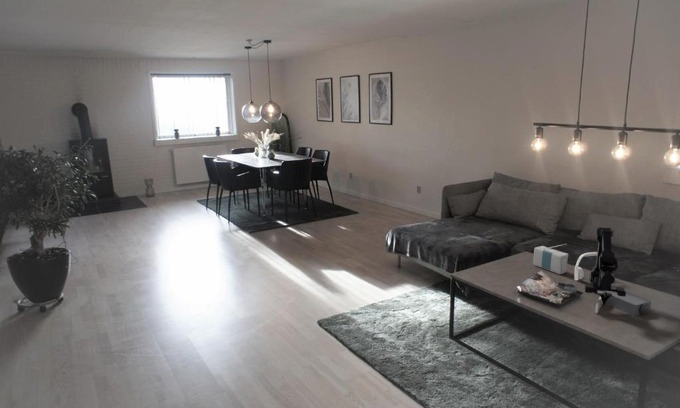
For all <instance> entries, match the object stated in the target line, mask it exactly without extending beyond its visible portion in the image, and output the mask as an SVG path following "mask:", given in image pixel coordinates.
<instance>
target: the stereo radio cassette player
mask: <svg viewBox="0 0 680 408" xmlns="http://www.w3.org/2000/svg"><path fill="white" fill-rule="evenodd" d="M563 245H565V246H566V243H564V244H560V245H556V246H555V245H554V246H549V247H547V246H545V245H540V246H537V247H534V249H533V250H534V251H533V261H532V264H533V266H535V267H538V268H542V269H544V270H546V271H549V272H552V273H554V274H557V275H563V274H564V273H566V272H567V269H568V267H567V266H568V259H569V253H567V252H564V251H560V250H557V249H553V248H556V247H559V246H563Z"/></svg>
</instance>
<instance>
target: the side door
mask: <svg viewBox="0 0 680 408" xmlns="http://www.w3.org/2000/svg"><path fill="white" fill-rule="evenodd" d="M602 306H603V302H602V299H601V297H600V296H599V298H598V299H597V301H596V303H594V307H593V310H594V314H598V313H599V311H600V309H601V307H602Z"/></svg>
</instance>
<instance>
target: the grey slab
mask: <svg viewBox="0 0 680 408" xmlns="http://www.w3.org/2000/svg"><path fill="white" fill-rule="evenodd" d="M611 289H616V287H611ZM603 293H604V294H605V292H603ZM651 304H652V300H649V299H646V298H644V297H642V296H639V295H637V294H635V293H631V292H628V291H626V296H625V297H624V296H618V295H617V293H612V297H609V298H608V300H607V301H606V303H605V304H604V305H607V306H610V307H612V308H615V309H616V310H620V311H622V312H624V313H627V314H628V315H631V316H634V317H635V316H639V315H647V314H648V313H649V312H650V311H651V306H652V305H651Z"/></svg>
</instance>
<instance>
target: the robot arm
mask: <svg viewBox="0 0 680 408" xmlns="http://www.w3.org/2000/svg"><path fill="white" fill-rule="evenodd" d="M594 232H595V233H594V234H595V236H596V240H597V242H598V244H597V251H596V252H597V256H596V262H595V265H594V266H593V267H592V268H591V271H590V273H589V277H588V278H589V282H590V283H589V284H588V283H585V284H584V286H583V287H584V292H585V293H586V294H587V293H588V294H597V296H599V297H601V299H602V302H603V303H602V306H605V305H606V304H605V303H606V301H607V300H608V298H609V297H612V293H617V295H618V296H624V297H625V296H626V292H627V290H626V289H625V288H624V287H620V286H616V287H615V288H616V289H612V285H613V284H614V283H615V281H616V279H615V276H614V272H617V269H618V267H619V266H618V263H619V262H618V259H617V257H616V253H615V252H614V251H613V247H612V238H613V237H614V235H615V234H614V232H615V231H614V230H613V229H612V228H611V227H605V226H604V227H602V226H598V228H595V231H594ZM603 292H605V294H604V293H603Z"/></svg>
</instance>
